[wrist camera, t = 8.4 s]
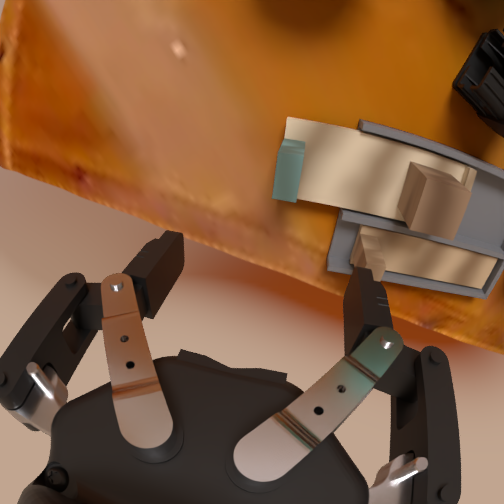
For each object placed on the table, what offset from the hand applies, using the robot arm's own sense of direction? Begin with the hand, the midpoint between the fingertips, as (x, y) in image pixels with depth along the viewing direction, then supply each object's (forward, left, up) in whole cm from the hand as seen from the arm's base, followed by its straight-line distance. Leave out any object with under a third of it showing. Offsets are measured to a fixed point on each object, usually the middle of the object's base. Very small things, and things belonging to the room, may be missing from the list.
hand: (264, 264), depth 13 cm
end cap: (-20, -15, -19) cm, 31 cm away
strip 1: (-9, 0, -19) cm, 21 cm away
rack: (-18, +3, -19) cm, 26 cm away
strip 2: (-18, +8, -19) cm, 28 cm away
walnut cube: (-14, 0, -17) cm, 22 cm away
